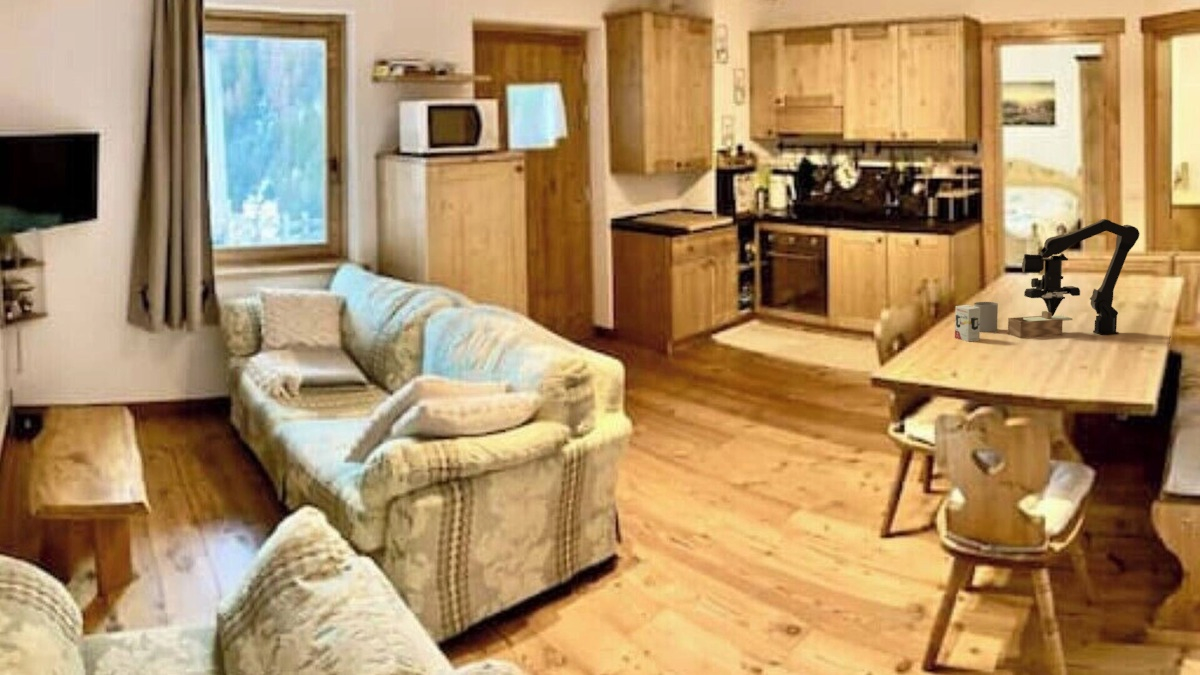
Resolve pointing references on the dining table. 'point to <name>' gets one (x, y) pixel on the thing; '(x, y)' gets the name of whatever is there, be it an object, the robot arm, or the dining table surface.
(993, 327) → the cup
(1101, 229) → the robot arm
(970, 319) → the ink box
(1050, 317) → the lid
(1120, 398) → the dining table surface
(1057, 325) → the box
